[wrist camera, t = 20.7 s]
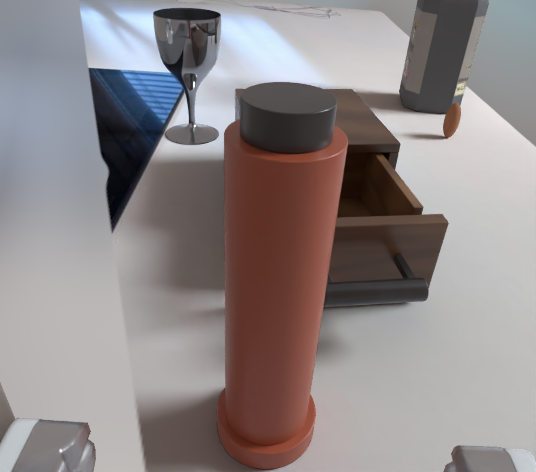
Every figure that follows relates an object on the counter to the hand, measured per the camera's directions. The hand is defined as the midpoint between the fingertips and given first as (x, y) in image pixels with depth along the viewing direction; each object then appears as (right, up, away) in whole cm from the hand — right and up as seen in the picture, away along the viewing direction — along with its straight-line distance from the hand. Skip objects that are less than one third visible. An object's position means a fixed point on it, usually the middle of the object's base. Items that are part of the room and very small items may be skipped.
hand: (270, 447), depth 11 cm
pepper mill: (0, -7, +18) cm, 19 cm away
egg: (+26, +19, +58) cm, 66 cm away
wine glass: (-10, +18, +54) cm, 59 cm away
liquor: (+27, +27, +70) cm, 79 cm away
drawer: (+6, +3, +31) cm, 31 cm away
